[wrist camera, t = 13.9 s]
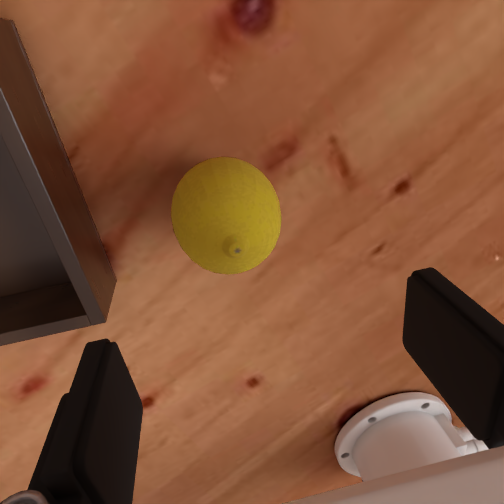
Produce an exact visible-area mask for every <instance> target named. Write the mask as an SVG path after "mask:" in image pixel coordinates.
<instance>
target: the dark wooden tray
mask: <svg viewBox="0 0 504 504" xmlns="http://www.w3.org/2000/svg"><path fill="white" fill-rule="evenodd" d="M116 282H117V280H116V277H115V275H114V272H113V270H112V267H111V265H110V262H109V260H108V257H107V255H106V252H105V250H104V247H103V245H102V242H101V240H100V237H99V235H98V232H97V230H96V227H95V225H94V222H93V220H92V217H91V215H90V212H89V210H88V207H87V205H86V202H85V200H84V197H83V195H82V192H81V190H80V187H79V184H78V182H77V179H76V177H75V174H74V172H73V169H72V167H71V164H70V162H69V159H68V157H67V154H66V152H65V149H64V147H63V144H62V142H61V139H60V137H59V134H58V132H57V129H56V127H55V124H54V122H53V119H52V117H51V114H50V112H49V109H48V107H47V104H46V102H45V99H44V97H43V94H42V92H41V89H40V87H39V84H38V82H37V79H36V77H35V74H34V72H33V69H32V67H31V64H30V62H29V59H28V57H27V54H26V52H25V49H24V47H23V44H22V42H21V39H20V37H19V34H18V32H17V29H16V27H15V24H14V22H13V20H7V19H2V18H0V346H3V345H7V344H12V343H16V342H21V341H25V340H29V339H34V338H38V337H43V336H47V335H52V334H56V333H61V332H65V331H70V330H74V329H79V328H83V327H88V326H91V325H97V324H101V323H105V322H106V320H107V316H108V312H109V308H110V304H111V301H112V297H113V293H114V289H115V285H116Z"/></svg>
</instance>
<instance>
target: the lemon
mask: <svg viewBox="0 0 504 504" xmlns="http://www.w3.org/2000/svg"><path fill="white" fill-rule="evenodd" d="M171 219H172V225H173V230H174V233H175V235H176V237H177V239H178V242H179V244H180V246H181V247H182V249H183V250H184V251H185V253H186V254H187V255H188V256H189V257H190V258H191V260H192V261H194V262H195V263H197V264H198V265H200V266H201V267H202V268H204V269H206V270H209V271H212V272H214V273H221V274H238V273H242V272H245V271H248V270H250V269H252V268H254V267H256V266H257V265H259V264H260V263H261V262H262V261H263V260H265V259H266V258H267V257H268V256H269V254H270V253H271V251H272V250H273V249H274V247H275V244H276V242H277V239H278V237H279V234H280V227H281V211H280V204H279V200H278V197H277V195H276V193H275V190H274V188H273V186H272V184H271V183H270V182H269V180H268V179H267V178H266V177H265V176H264V174H263V173H262V172H261V171H260V170H258V169H257V168H255V167H254V166H253V165H251V164H250V163H248V162H245V161H242V160H240V159H237V158H231V157H217V158H211V159H208V160H205V161H203V162H201V163H198V164H197V165H195V166H194V167H193V168H191V169H190V170H189V171H188V172H187V173H186V174H185V175H184V177H183V178H182V179H181V180H180V182H179V183H178V185H177V188H176V190H175V193H174V195H173V199H172V207H171Z"/></svg>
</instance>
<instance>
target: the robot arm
mask: <svg viewBox="0 0 504 504" xmlns="http://www.w3.org/2000/svg"><path fill="white" fill-rule="evenodd" d="M403 344H404V347H405V349H406V351H407V352H408V353H409V354H410V356H411V357H412V358H413V360H414V361H415V362H416V363H417V365H418V366H419V367H420V369H421V370H422V371H423V372H424V374H425V375H426V376H427V378H428V379H429V380H430V381H431V383H432V384H433V385H434V387H435V388H436V389H437V390H438V392H439V393H440V394H441V396H442V397H443V398H444V399H445V401H446V402H447V403H448V405H449V406H450V407H451V408H452V410H453V411H454V412H455V413H456V415H457V416H458V417H459V419H460V420H461V421H462V422H463V424H464V425H465V427H461V428H458V427H457V426H453V425H452V424H451V421H452V417H451V414H450V411H449V410H448V408H447V407H446V406H445V404H444V403H443V402H442V401H441V400H440V399H439V398H438V397H436V396H433V395H431V394H427V393H422V392H408V393H400V394H396V395H392V396H388V397H386V398H383V399H381V400H378V401H376V402H374V403H372V404H370V405H368V406H367V407H365V408H364V409H362V410H361V411H359V412H358V413H356V414H355V415H354V416H353V417H352V418H351V419H350V420H349V421H348V422H347V423H346V424H345V425H344V426H343V428H342V429H341V431H340V433H339V434H338V436H337V439H336V442H335V450H334V451H335V454H336V457H337V460H338V462H339V464H340V466H341V468H342V469H344V470H345V471H346V472H348V473H350V474H351V475H355V476H358V477H361V478H362V481H363V482H361V483H357V484H354V485H350V486H346V487H342V488H338V489H335V490H331V491H327V492H324V493H320V494H316V495H312V496H309V497H305V498H301V499H297V500H294V501H290V502H286V503H282V504H504V325H503V324H502V323H501V322H499V321H498V320H497V319H496V318H495V317H493V316H492V315H491V314H490V313H488V312H487V311H486V310H485V309H484V308H482V307H481V306H480V305H479V304H477V303H476V302H475V301H474V300H472V299H471V298H470V297H469V296H468V295H466V294H465V293H464V292H463V291H461V290H460V289H459V288H458V287H456V286H455V285H454V284H453V283H452V282H450V281H449V280H448V279H447V278H445V277H444V276H443V275H442V274H441V273H439V272H438V271H437V270H436V269H434V268H431V267H430V268H426V269H421V270H416V271H414V272H413V273H412V275H411V276H410V277H408V279H407V289H406V302H405V314H404V326H403ZM142 414H143V407H142V402H141V399H140V397H139V394H138V392H137V390H136V387H135V385H134V383H133V380H132V378H131V376H130V373H129V371H128V369H127V366H126V364H125V362H124V359H123V357H122V355H121V352H120V350H119V348H118V345H117V344H116V342H110V341H109V340H108V339H102V340H97V341H93V342H88V343H87V344H86V346H85V348H84V351H83V354H82V357H81V360H80V363H79V366H78V368H77V371H76V374H75V377H74V380H73V383H72V386H71V388H70V391H69V393H66V394H64V395H63V396H62V398H61V400H60V402H59V405H58V408H57V411H56V413H55V416H54V419H53V422H52V424H51V427H50V430H49V432H48V435H47V438H46V441H45V443H44V446H43V449H42V451H41V454H40V457H39V460H38V462H37V465H36V468H35V471H34V473H33V476H32V479H31V481H30V484H29V487H28V490H25V491H20V492H18V493H16V494H14V495H11V496H9V497H8V498H7V499H5V500H4V501H2V502H1V503H0V504H132V499H133V491H134V482H135V474H136V465H137V457H138V448H139V440H140V431H141V423H142Z"/></svg>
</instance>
